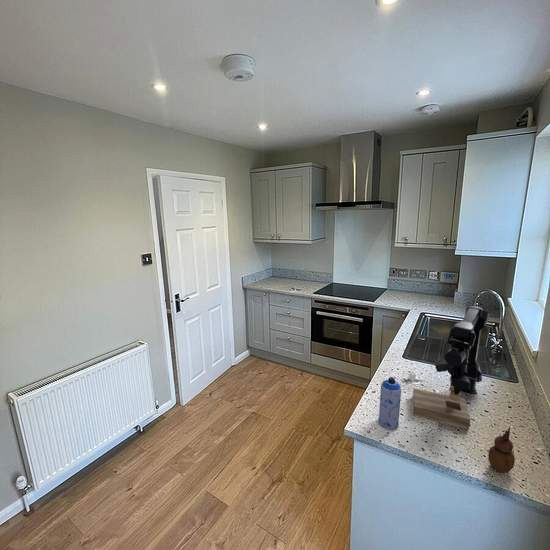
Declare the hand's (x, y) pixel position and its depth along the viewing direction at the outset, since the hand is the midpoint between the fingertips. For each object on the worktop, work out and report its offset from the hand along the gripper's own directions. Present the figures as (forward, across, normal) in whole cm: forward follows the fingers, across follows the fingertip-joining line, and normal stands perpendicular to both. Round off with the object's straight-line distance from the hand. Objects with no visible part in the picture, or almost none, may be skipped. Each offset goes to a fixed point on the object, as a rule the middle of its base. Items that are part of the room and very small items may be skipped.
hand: (455, 391), depth 121 cm
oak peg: (+3, 0, 0) cm, 3 cm away
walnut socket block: (+11, 0, -5) cm, 12 cm away
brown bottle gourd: (+11, +24, +11) cm, 29 cm away
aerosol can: (+11, +16, -24) cm, 31 cm away
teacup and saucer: (+12, -21, -13) cm, 27 cm away
